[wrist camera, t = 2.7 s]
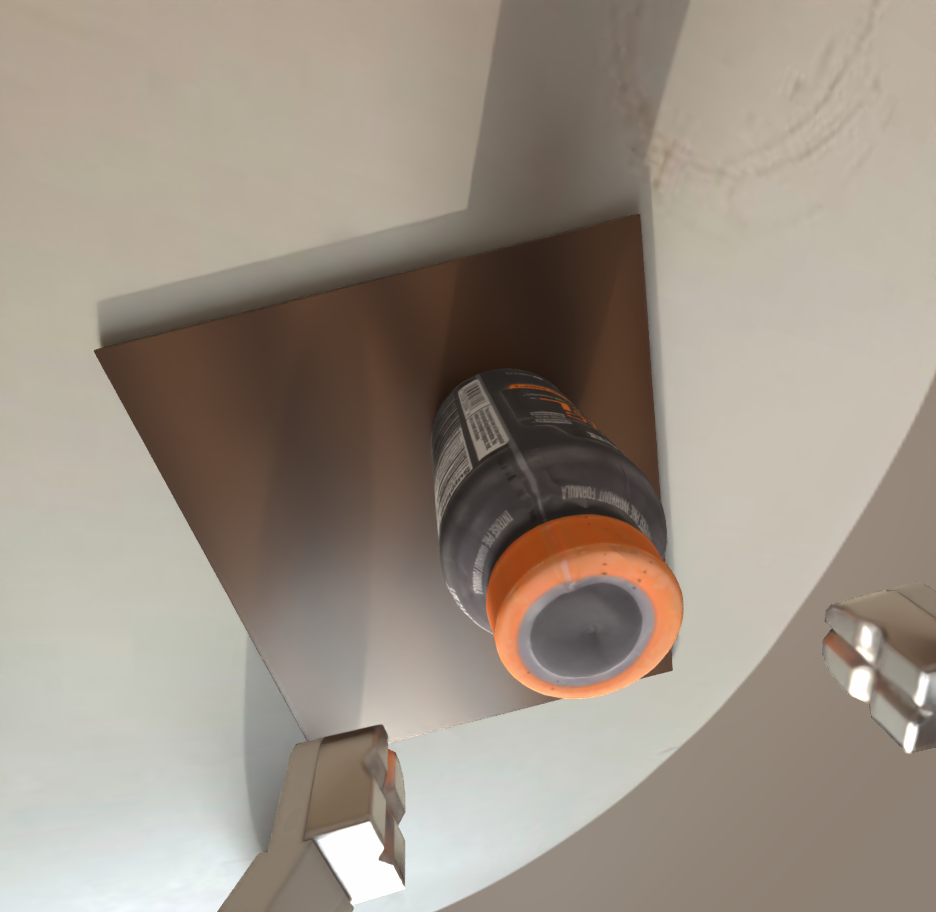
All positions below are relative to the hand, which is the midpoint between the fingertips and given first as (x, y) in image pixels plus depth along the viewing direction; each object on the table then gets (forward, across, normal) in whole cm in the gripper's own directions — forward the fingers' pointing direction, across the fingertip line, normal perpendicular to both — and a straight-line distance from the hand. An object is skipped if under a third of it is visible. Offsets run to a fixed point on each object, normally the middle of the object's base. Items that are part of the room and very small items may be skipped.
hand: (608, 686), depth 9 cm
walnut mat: (+13, +3, +4) cm, 14 cm away
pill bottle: (+13, 0, 0) cm, 13 cm away
